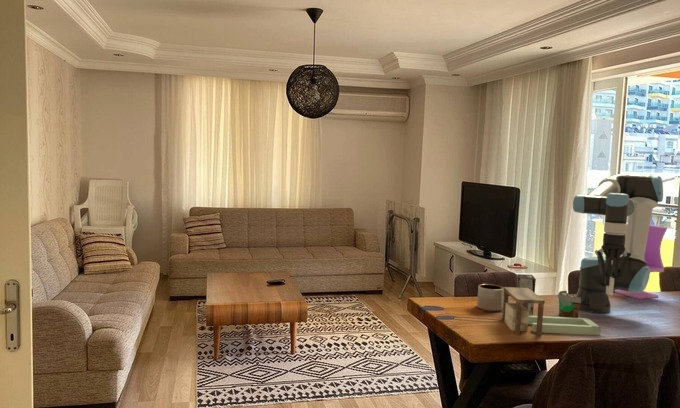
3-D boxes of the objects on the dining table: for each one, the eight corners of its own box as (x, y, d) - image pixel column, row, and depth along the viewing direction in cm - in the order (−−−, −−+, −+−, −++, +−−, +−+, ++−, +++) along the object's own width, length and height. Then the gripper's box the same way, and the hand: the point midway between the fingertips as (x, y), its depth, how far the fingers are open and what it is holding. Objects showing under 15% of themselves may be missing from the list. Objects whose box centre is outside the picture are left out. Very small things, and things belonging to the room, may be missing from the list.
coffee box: (533, 317, 224) (536, 279, 223) (517, 315, 225) (519, 277, 224) (530, 311, 233) (532, 274, 232) (514, 309, 234) (517, 273, 233)
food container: (550, 312, 232) (552, 290, 231) (564, 313, 232) (566, 290, 231) (564, 321, 219) (566, 297, 219) (579, 321, 220) (581, 297, 219)
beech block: (519, 323, 215) (521, 303, 215) (527, 331, 205) (529, 310, 205) (504, 322, 216) (505, 302, 215) (511, 330, 206) (513, 310, 205)
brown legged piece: (526, 319, 220) (528, 288, 219) (542, 335, 201) (544, 300, 200) (501, 318, 220) (503, 287, 219) (515, 334, 201) (517, 299, 200)
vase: (639, 299, 260) (645, 228, 257) (611, 292, 274) (617, 223, 271) (661, 297, 266) (667, 227, 263) (633, 290, 280) (638, 223, 277)
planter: (475, 309, 233) (476, 287, 232) (478, 303, 243) (480, 282, 242) (501, 313, 228) (502, 291, 228) (503, 306, 239) (505, 285, 238)
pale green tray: (587, 325, 215) (587, 318, 215) (600, 335, 204) (600, 327, 204) (524, 322, 216) (524, 315, 216) (533, 331, 205) (534, 324, 204)
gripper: (626, 233, 210) (621, 292, 212) (593, 231, 210) (588, 290, 212) (636, 235, 202) (631, 297, 204) (601, 234, 203) (596, 295, 204)
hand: (609, 294), depth 208 cm, fingers closed
